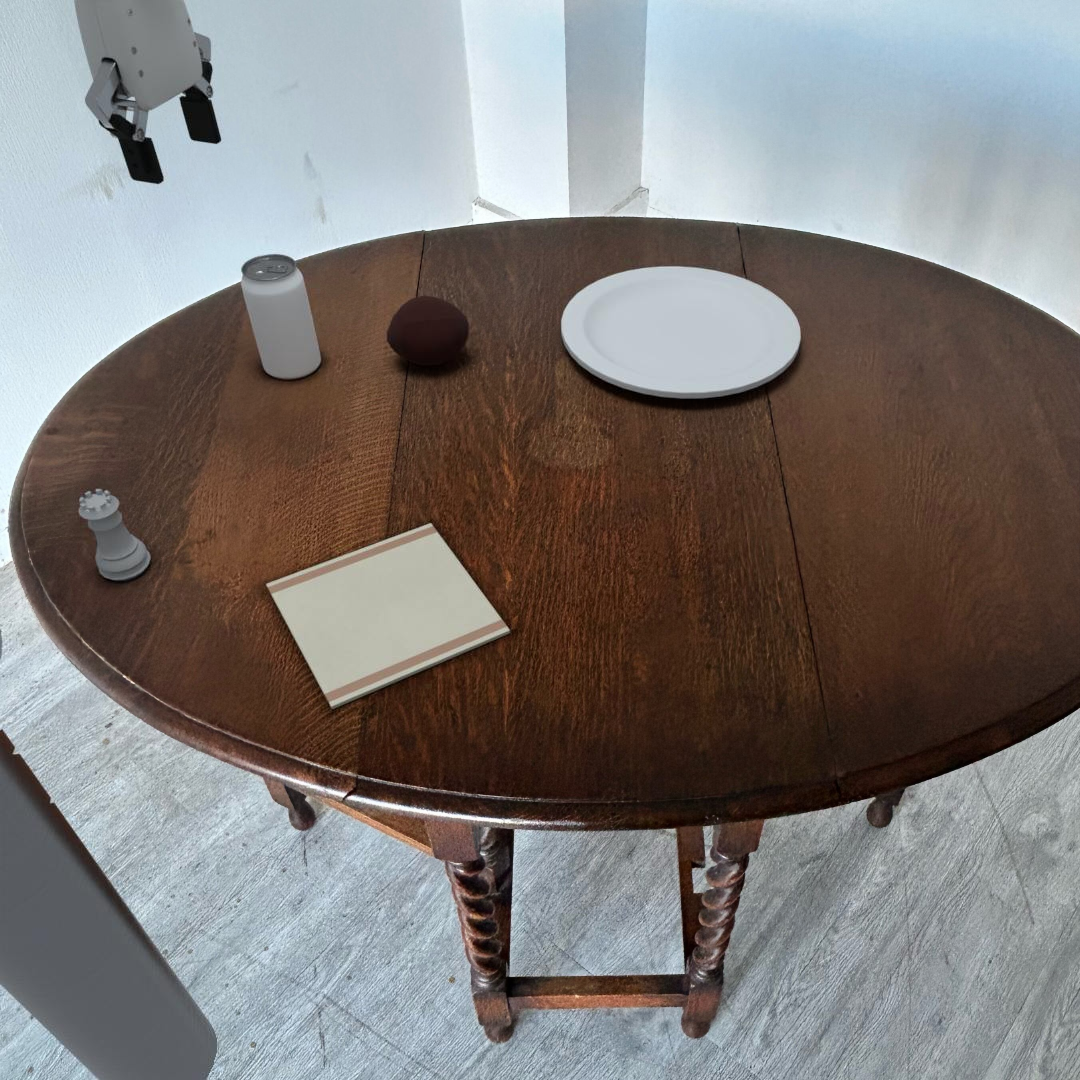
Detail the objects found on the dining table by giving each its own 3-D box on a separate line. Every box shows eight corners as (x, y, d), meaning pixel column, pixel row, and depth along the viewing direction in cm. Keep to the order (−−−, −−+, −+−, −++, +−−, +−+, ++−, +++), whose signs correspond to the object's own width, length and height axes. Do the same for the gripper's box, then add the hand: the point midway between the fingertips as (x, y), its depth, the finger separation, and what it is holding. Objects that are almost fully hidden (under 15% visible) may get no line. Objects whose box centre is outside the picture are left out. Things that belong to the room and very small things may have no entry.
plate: (767, 278, 128) (769, 261, 126) (826, 403, 109) (829, 385, 107) (551, 288, 125) (551, 271, 124) (573, 417, 106) (573, 399, 104)
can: (269, 350, 114) (244, 251, 106) (326, 349, 115) (304, 251, 106) (258, 381, 110) (230, 282, 101) (317, 381, 110) (294, 281, 101)
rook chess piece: (160, 569, 89) (130, 501, 83) (110, 590, 87) (77, 522, 81) (141, 542, 91) (111, 474, 86) (92, 563, 89) (59, 495, 84)
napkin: (332, 709, 78) (330, 706, 78) (266, 586, 88) (265, 583, 87) (510, 633, 84) (510, 629, 84) (431, 525, 94) (430, 522, 93)
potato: (477, 374, 112) (472, 313, 106) (395, 385, 110) (384, 323, 104) (466, 337, 117) (460, 276, 111) (387, 347, 115) (377, 286, 110)
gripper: (140, -76, 89) (194, 123, 101) (8, -25, 77) (87, 192, 90) (214, -69, 87) (259, 132, 100) (91, -16, 76) (160, 203, 88)
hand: (178, 160), depth 95 cm, fingers open, 9 cm apart
